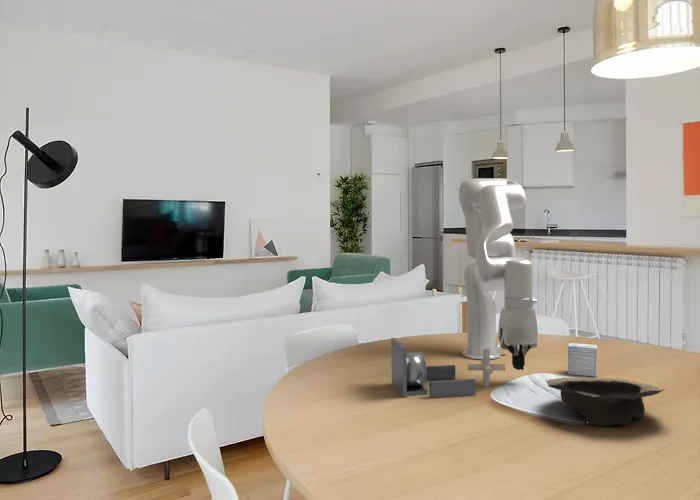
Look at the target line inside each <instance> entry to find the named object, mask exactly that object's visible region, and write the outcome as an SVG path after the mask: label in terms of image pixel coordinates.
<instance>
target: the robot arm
mask: <svg viewBox="0 0 700 500" xmlns="http://www.w3.org/2000/svg"><path fill="white" fill-rule="evenodd" d="M458 199H459V203H460V204H459V205H460V207H461V210H462V213H463V216H464V220H465V234H466V235H465V239H466V249H467V254H468V256H469V258H472V259H474V260H475V261H476V262H475V263H471V264H469V265H467V266H466V267H465V269H464V270H463V271H464V273H463V279H464V285H465V292H466V326H467V327H466V339H467V341H466V343H467V344H466V345H467V347H466V349H464V350H463V351H462V356H463V357H465V358H468V359H473V360H483V349H490V360H494V359H499V358H500V357H501V355H502V354H501V351H502V350H504V351H505V350H506V351H509V353H510V354H511V365H512V367H513V369H515V370H517V371H520V370H521V371H523V370H524V369H525V364H526V363H525V359H526V358H525V356H526V355H527V353H528V352H529V351H530V350H531V349H533V348H537V347H538V343H537V342H538V338H539V336H538V335H539V331H538V328H539V327H538V321H537V315H536V309H535V308H534V304H535V305H536V304H537V303H538V300H537V298H534V297H533V263H532V261H530V260H529V259H524V258H522V257H519V256H518V257H517V254H516V253H517V252H516V243H515V238H514V237H513V235H512V233H511V232H512V231H513V230H514V223H513V218H512V215H511V212H514V211H516V212H517V211H522V210H523V209H524V208H525V206H526V202H527V195H526V192H525V190H524V188H523V186H522V185H521V184H520V183H518V182H516V181H514V180H512V179H510V178H500V177H497V178H488V177H487V178H484V177H483V178H482V177H481V178H480V177H478V178H470V179H469V178H468V179H465V180H464V181H462V183H460V186H459V189H458ZM495 291H496V292H497V291H498V292H500V291H501V292H502V291H504V293H503V294H504V298H503V299H504V303H503V304H504V306H503V307H501V309H500V314H499V320H498V330H497V324H496V323H497V312H496V311H497V305H496V302H495V300H494V298H493V297H492V296H491V295H490V293H489V292H495ZM497 332H498V333H497ZM496 337H497V338H496ZM497 339H498V341H499V342H500V343H499V342H497Z"/></svg>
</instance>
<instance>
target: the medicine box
mask: <svg viewBox="0 0 700 500" xmlns="http://www.w3.org/2000/svg"><path fill="white" fill-rule="evenodd" d="M567 375H574V376H581V377H592V378H598V377H597V376H598V346H597V344H586V343H575V342H574V343H568V345H567Z"/></svg>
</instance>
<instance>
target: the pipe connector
mask: <svg viewBox="0 0 700 500" xmlns="http://www.w3.org/2000/svg"><path fill="white" fill-rule="evenodd" d="M490 360H491V359H490V349H483V359H481V361H480V363H467V370H468V371H482V385H483V386H484V387H489V386H490V385H491V377H490V376H491V375H492V374H493V372H494V371H498V372H499V371H501V372H502V371H503V372H504V371H506V364H503V363H490Z"/></svg>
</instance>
